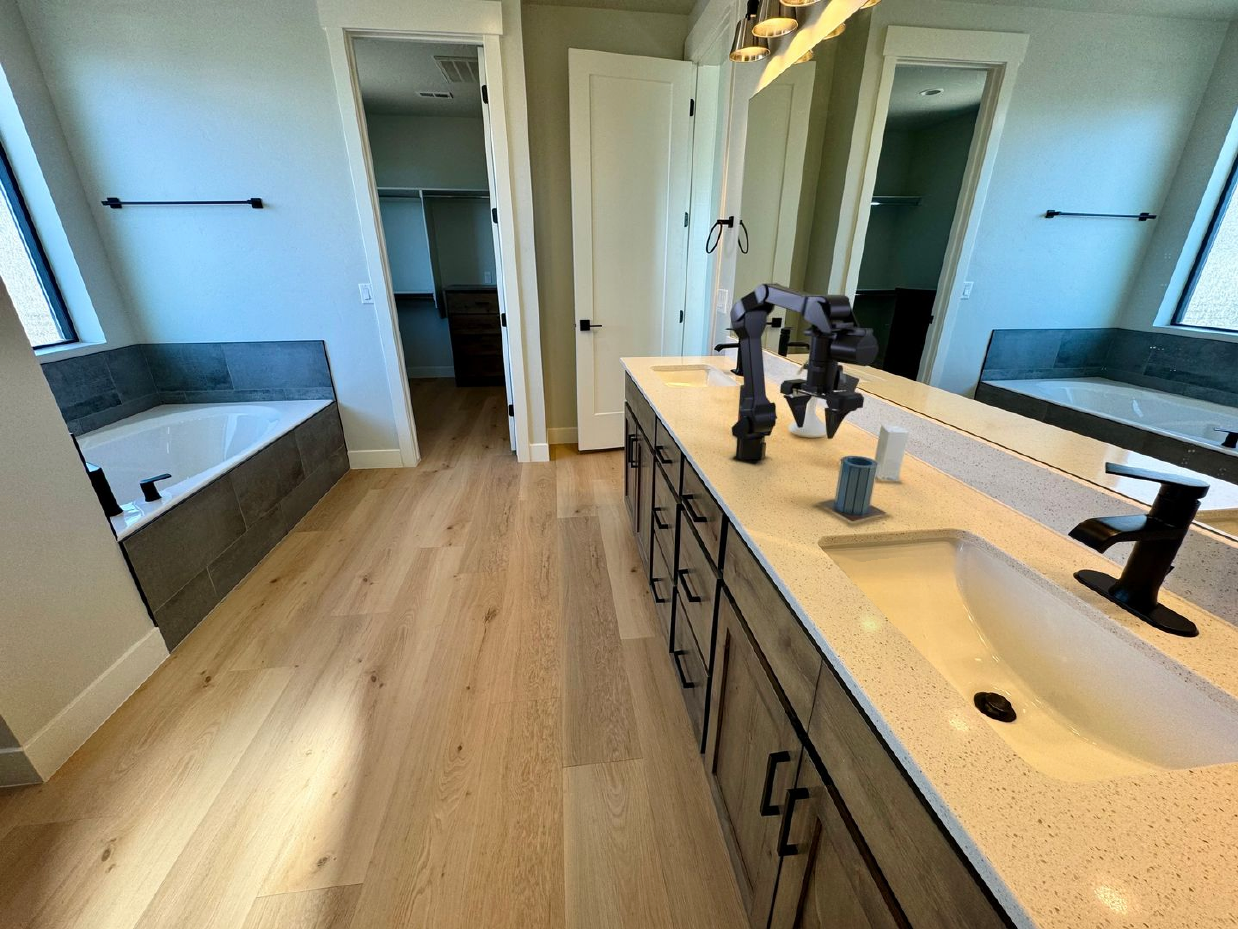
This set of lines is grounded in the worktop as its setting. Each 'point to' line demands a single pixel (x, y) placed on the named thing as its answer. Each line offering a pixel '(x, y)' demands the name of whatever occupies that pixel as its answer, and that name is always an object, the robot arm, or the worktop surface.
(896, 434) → the cosmetic box
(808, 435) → the flower in vase
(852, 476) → the blue slatted cup
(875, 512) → the walnut stand
